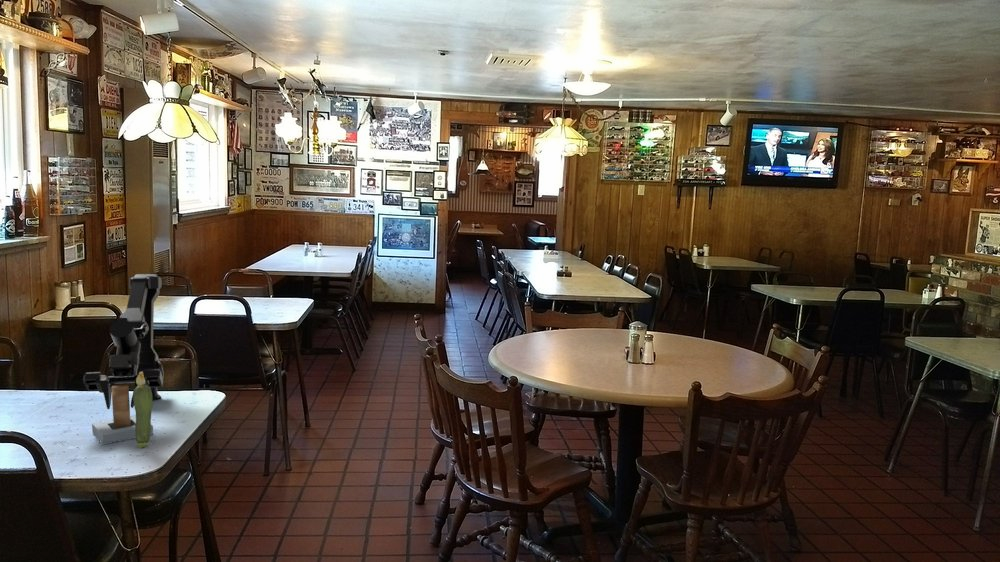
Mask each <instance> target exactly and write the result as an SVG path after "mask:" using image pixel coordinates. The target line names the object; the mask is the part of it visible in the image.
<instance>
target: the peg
mask: <svg viewBox="0 0 1000 562" xmlns="http://www.w3.org/2000/svg"><path fill="white" fill-rule="evenodd" d="M111 390H112V395H111V401H112V402H111V403H112V416H113V417H112V418H113V419H112V420H113V422H114V429H119V428H125V427H130V426H131V422H130V416H131V410H130V408H131V402H130V389H129V384H127V383H120V384H116V385H112V386H111Z"/></svg>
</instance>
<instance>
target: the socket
mask: <svg viewBox="0 0 1000 562" xmlns="http://www.w3.org/2000/svg"><path fill="white" fill-rule="evenodd" d="M130 422H131V426H130V427H125V428H119V429H114V422H113V419H109V420H108V419H107V420H104V421H97V422H96V421H95V422H92V423H91V429H92V433H93V434H94V436H95V437H96V438H97V439H98V440H100V441H101V442H100V441H99V442H100V443H101V444H102V445H103V444H104V445H107V443H109V444H111V443H110V442H114V443H117V442H116V441H119V442H122V441H121V440H124V441H127V440H126V439H129V440H132V439H131V438H134V439H136V434H135V425H136V414H135V415H130ZM152 434H153V435H154V425H153V424H151V431H150V436H153V435H152Z"/></svg>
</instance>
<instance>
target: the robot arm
mask: <svg viewBox="0 0 1000 562" xmlns="http://www.w3.org/2000/svg"><path fill="white" fill-rule="evenodd" d="M128 283H129V284H128V285H129V288H128V289H129V296H128V301H127V304H126V309H125V311H124V312H123V313H121V314H120V316H119V318H118V320H117V321H115V322H113V323H112V324H111V326H110V327H109V333H110V334H109V335H110V336H111V339H112V341H113V344H114V346H115V347H116V354H112V355H109V361H108V362H109V363H108V368H109V369H110V370H109V371H110V373H111V374H112V375H110V376H109V375H106V374H102V372H101V371H93V372H91V371H89V372H85V374H83V378H82V383H83V385H84V386H85V388H86V390H87V391H89V392H99V393H100V394H103V397H104V402H105V406H106V408H107V410H110V408H111V403H112V402H111V401H112V387H111V384H116V385H118V384H133V383H134V388H133V391H132V393H133V392H134V390H135V388H136V387H137V386H138V384H137V383H136V379H137V377H138V375H139V373H140V372H142V371H143V373H144V374H143V375H144V379H145V385H147V386H149V387H150V389H151V391H152V401H153V400H159V399H162V396H161V395H160V394H159V393H158V388H161V387H163V386H164V385H163V384H164V379H165V378H164V377H165V375H164V368H163V365H162V364H161V360H159V355H158V354H157V352H156V350H155V349H154V314H155V313H154V311H155V307H154V304H155V301H156V300H157V299H158V297H159V296H160V294H161V293H160V291H161V290H160V289H162V284H163V282H162V277H160V276H158V274H157V273H136V274H135V275H134V276H132V277H129V280H128ZM130 399H131V400H130V408H131V409H132V408H133V409H134V408H135V406H134V401H133V394H132V397H131V398H130Z"/></svg>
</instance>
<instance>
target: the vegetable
mask: <svg viewBox="0 0 1000 562" xmlns="http://www.w3.org/2000/svg"><path fill="white" fill-rule="evenodd" d="M143 374H144V373H143V371H142V372H140V373H139V375H138V377H137V379H136V383H137V384H138V386H137V387H136V388H135V390H134V389H133V391H134V392H133V391H132V395H133V401H134V410H135V415H136V425H135V434H136V438H135V441H136V443H137V445H138V448H139V449H141V448H146V447H147V446H148V443H149V442H150V437H151V435H150V431H151V425H152V409H153V400H152V391H151V389H150V387H149V386H147V385H145V379H144V375H143Z"/></svg>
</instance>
